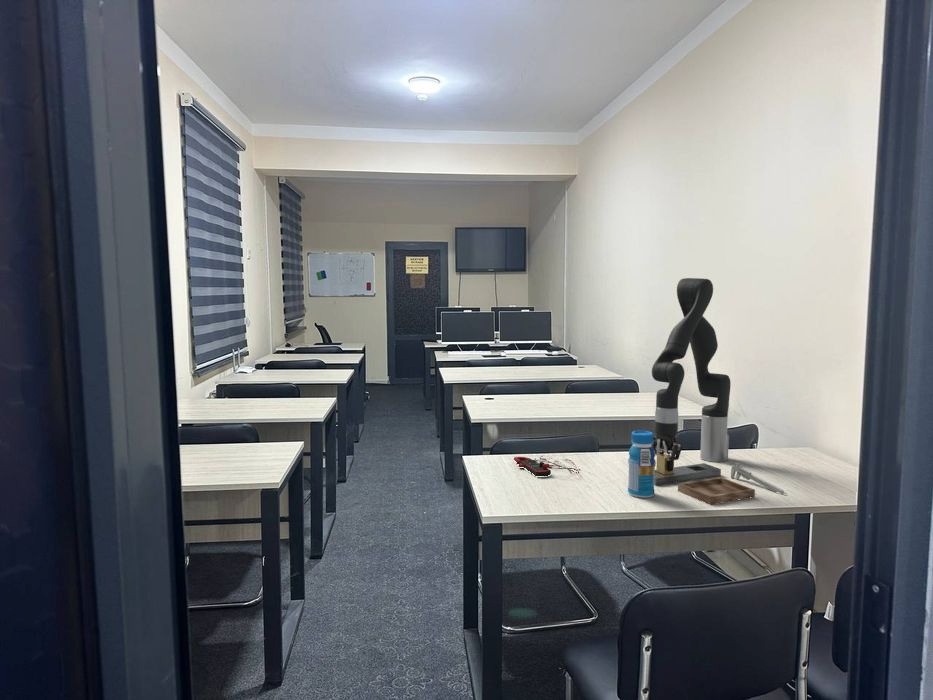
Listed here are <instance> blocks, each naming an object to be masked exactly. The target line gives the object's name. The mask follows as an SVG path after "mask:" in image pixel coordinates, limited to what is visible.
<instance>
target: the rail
mask: <svg viewBox="0 0 933 700" xmlns="http://www.w3.org/2000/svg"><path fill="white" fill-rule="evenodd" d="M721 473H722V469H721V468H718V467H717V466H716V467H715V466H713V465H710V464H707V463H705V462H704V463H695V464H688V465H681V466H674V474H672V475H665V476H664V475H661V474H659V473H656V469H655V476H654V487H655V486H657V487H658V486H662V485H670V483H671V484H676V482H678V483H684V482H683V481H685V482H691V481H698V480H705V479H711V478H718V477H722V474H721ZM704 478H705V479H704ZM697 479H698V480H697ZM690 480H691V481H690Z"/></svg>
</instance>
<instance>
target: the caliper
mask: <svg viewBox="0 0 933 700" xmlns="http://www.w3.org/2000/svg"><path fill="white" fill-rule="evenodd" d="M740 465H741V463H738V462H737V461H736V462H734V464H732V466H731V469H730V478H731V479H734V478H735V479H736V480H735V481H738V480H739V479H740V478H741V477H742V478H743V479H745V480H746V481H748V480H751V481H754V482H755V483H757V484H759V485H761V486H763V487H764V488H767V489H768V490H771V491H772V490H773V491H772V492H774V491H776V492H779V493H782V494H781V495H783V494H787V492H785V490H784V489H782V488H780V487H777V486H776V485H774V484H772V483H770V482H768V481H766V480H764V479H762V478H760V477H758V476H756V475H754V474H752V472H751V471H749V470H747V469H745V468H744V467H741V466H740ZM737 479H738V480H737ZM776 492H775V493H776ZM779 493H778V494H779Z"/></svg>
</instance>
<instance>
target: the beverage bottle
mask: <svg viewBox="0 0 933 700" xmlns="http://www.w3.org/2000/svg"><path fill="white" fill-rule="evenodd" d="M630 439H631V443H632V445H631V446H630V448H629V450H628V455H629V457H628V460H627V463H628V487H627V494H629V495H630V496H632V497H635V498H640V499H642V498H643V499H645V498H647V499H648V498H652V497H653V496H655V485H654V476H655V470H656V469H655V468H656V467H657V460H656V459H655V457H657V456H656V454H655V451H654V449H653V447H652V444H653V441H654V433H653V432H652V431H648V430H633V431H632V432H631V438H630Z"/></svg>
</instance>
